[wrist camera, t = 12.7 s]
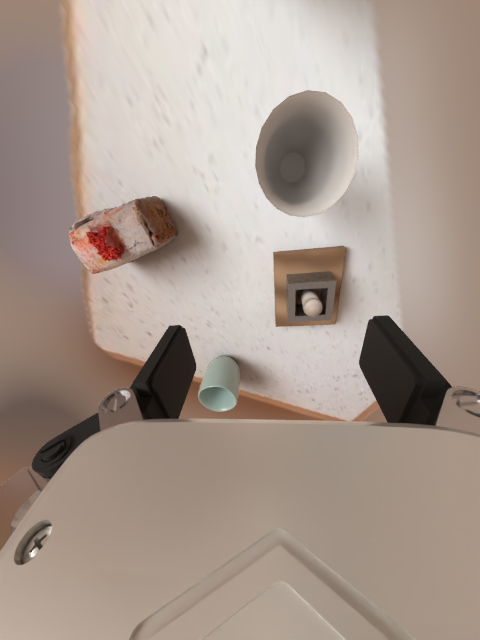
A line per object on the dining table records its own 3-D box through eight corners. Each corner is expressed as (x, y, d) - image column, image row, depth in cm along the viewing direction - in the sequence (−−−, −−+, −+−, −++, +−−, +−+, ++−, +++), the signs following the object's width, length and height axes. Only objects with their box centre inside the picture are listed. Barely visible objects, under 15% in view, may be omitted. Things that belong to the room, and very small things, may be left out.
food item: (121, 265, 40) (84, 286, 32) (90, 221, 37) (40, 233, 28) (183, 236, 37) (159, 253, 28) (156, 185, 33) (120, 186, 25)
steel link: (286, 274, 37) (288, 283, 33) (329, 271, 36) (336, 280, 32) (286, 310, 40) (288, 322, 37) (325, 308, 39) (331, 320, 36)
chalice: (321, 175, 30) (377, 169, 15) (281, 211, 33) (294, 236, 18) (290, 123, 28) (321, 54, 13) (249, 167, 31) (234, 153, 15)
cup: (220, 379, 54) (212, 415, 46) (202, 358, 51) (189, 393, 43) (247, 369, 52) (244, 405, 43) (230, 346, 48) (222, 381, 40)
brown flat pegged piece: (273, 252, 36) (275, 269, 29) (343, 246, 35) (362, 262, 28) (275, 322, 44) (277, 349, 37) (333, 319, 42) (346, 347, 35)
